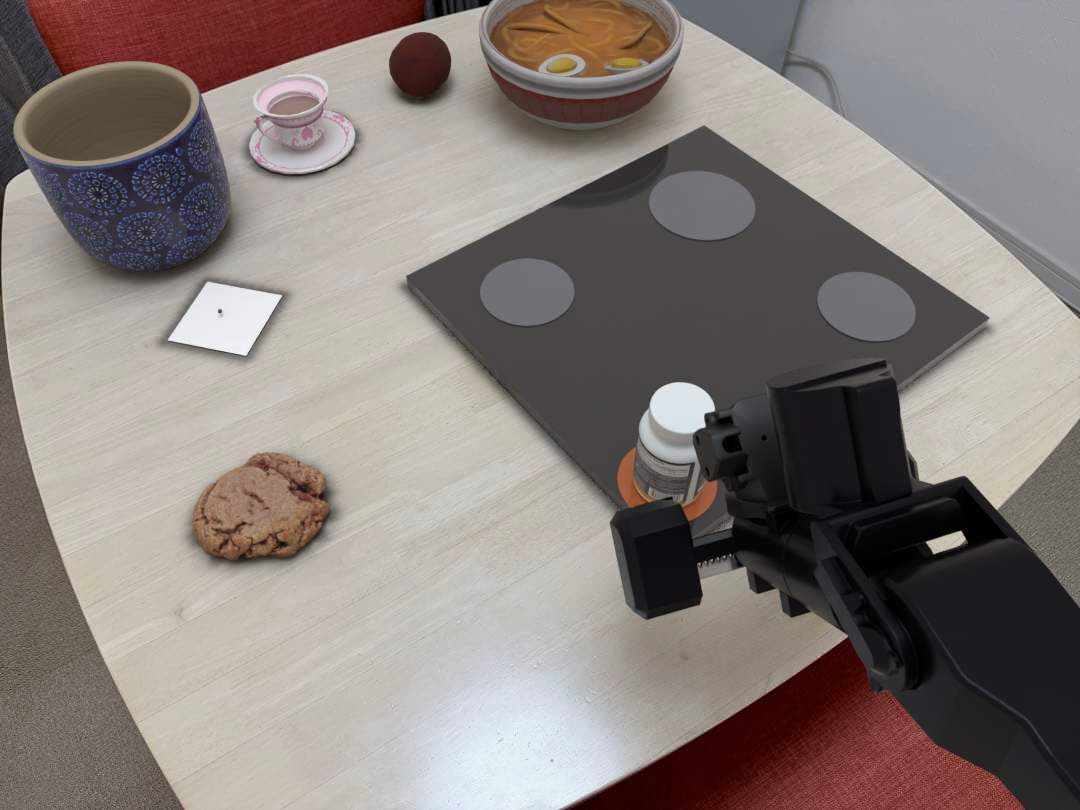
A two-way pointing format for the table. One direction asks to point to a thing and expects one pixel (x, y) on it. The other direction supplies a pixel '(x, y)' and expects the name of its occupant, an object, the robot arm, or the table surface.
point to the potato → (420, 64)
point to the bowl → (580, 56)
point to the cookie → (261, 508)
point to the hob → (680, 301)
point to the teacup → (298, 127)
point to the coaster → (225, 318)
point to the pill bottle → (671, 444)
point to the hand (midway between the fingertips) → (715, 499)
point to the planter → (128, 163)
